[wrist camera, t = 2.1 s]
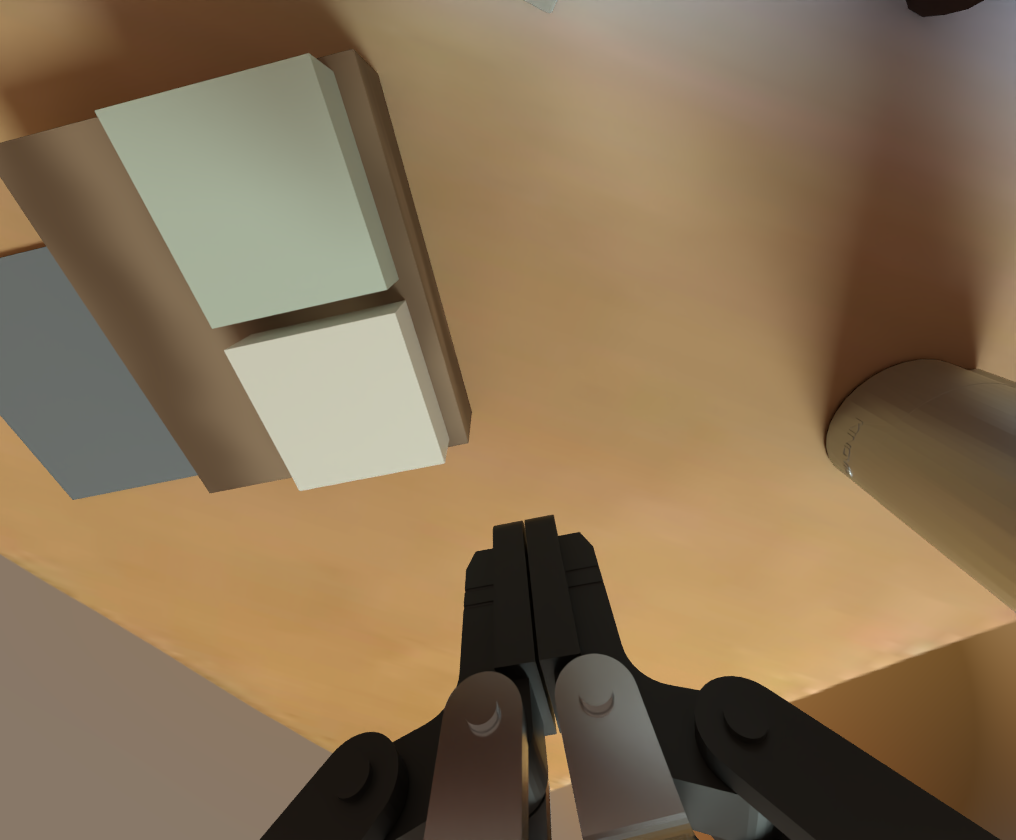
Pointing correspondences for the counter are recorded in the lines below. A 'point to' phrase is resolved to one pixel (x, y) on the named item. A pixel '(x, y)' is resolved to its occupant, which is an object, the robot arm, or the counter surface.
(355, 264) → the sage tile
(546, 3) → the skincare box
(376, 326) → the cream tile
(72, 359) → the grey mat
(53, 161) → the walnut board
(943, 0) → the book
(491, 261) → the counter surface
